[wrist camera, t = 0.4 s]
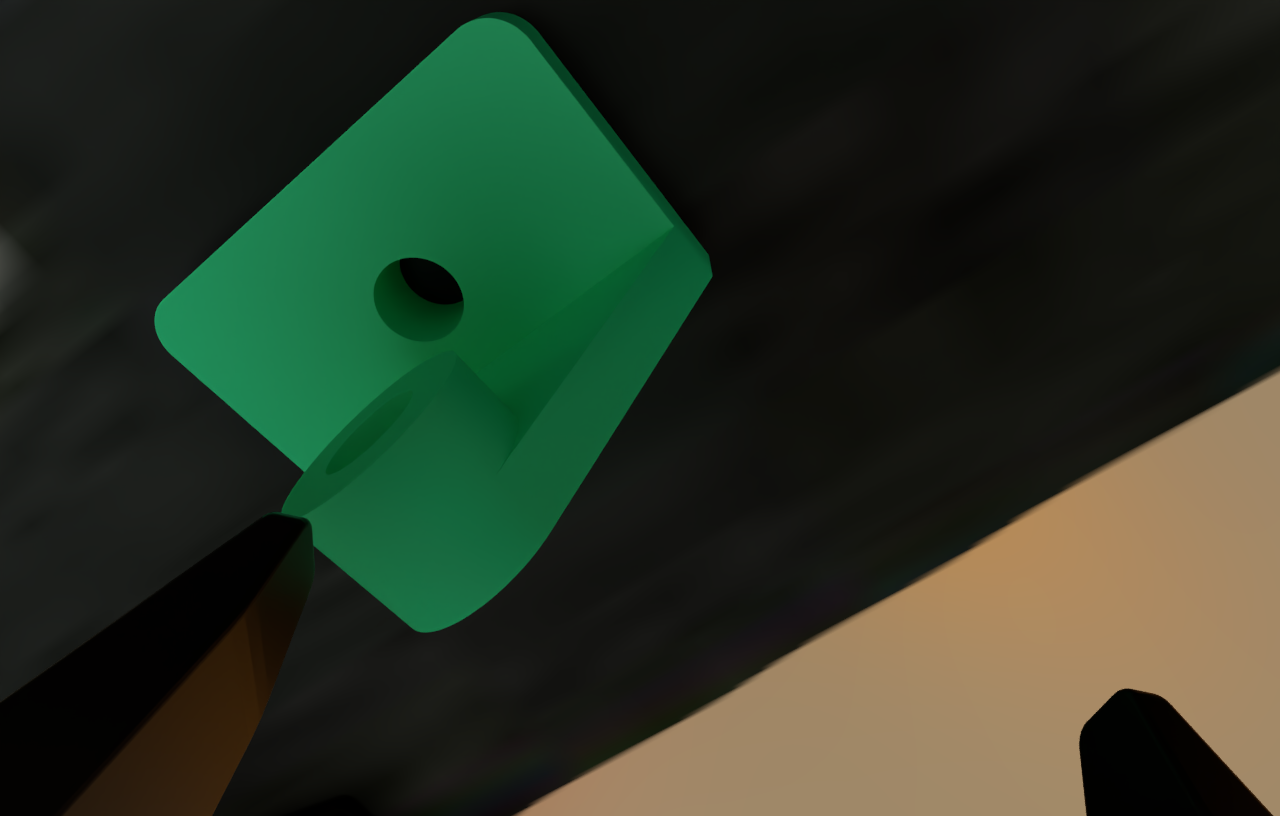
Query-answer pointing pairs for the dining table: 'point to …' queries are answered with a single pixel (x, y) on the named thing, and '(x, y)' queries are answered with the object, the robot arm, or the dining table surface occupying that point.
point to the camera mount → (446, 319)
